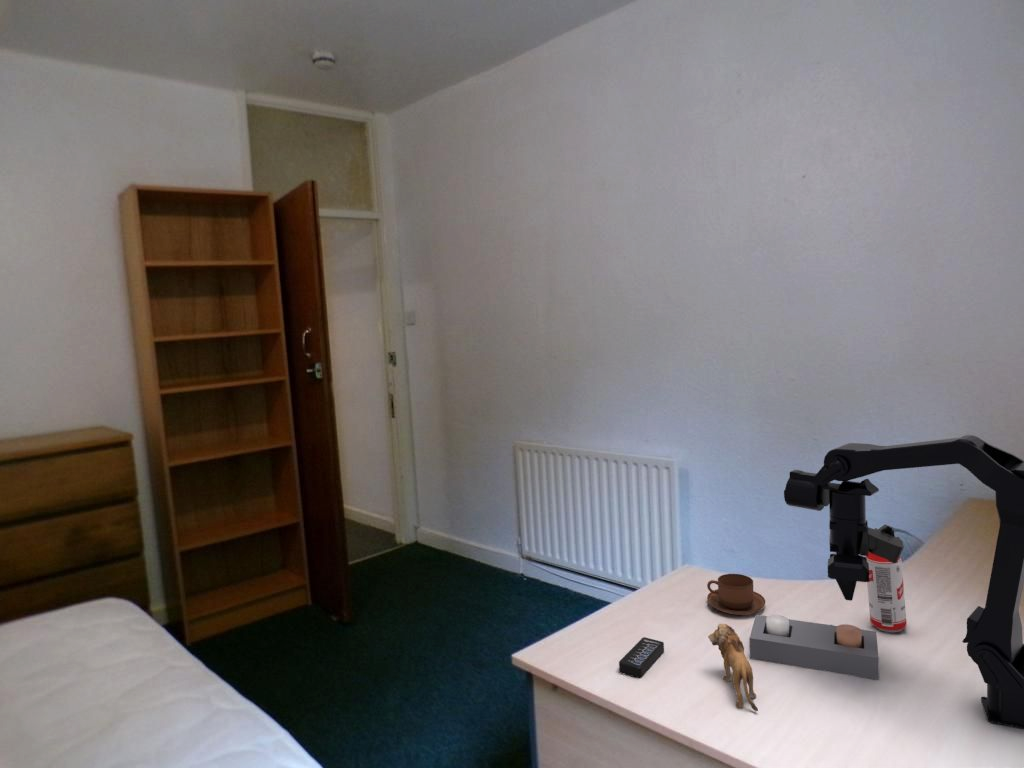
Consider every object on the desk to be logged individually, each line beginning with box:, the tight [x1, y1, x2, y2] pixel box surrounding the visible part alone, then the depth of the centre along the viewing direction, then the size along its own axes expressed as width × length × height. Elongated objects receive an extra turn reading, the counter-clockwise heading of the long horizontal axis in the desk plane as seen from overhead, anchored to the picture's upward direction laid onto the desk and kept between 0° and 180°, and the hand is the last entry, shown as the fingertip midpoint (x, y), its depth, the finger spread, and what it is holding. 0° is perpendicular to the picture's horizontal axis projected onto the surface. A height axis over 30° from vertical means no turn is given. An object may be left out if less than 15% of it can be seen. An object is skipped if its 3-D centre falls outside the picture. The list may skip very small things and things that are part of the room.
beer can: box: [864, 551, 907, 633], centre depth 129 cm, size 6×6×16 cm
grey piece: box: [766, 614, 789, 637], centre depth 124 cm, size 4×4×4 cm
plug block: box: [748, 614, 880, 681], centre depth 122 cm, size 10×21×4 cm, turn 63°
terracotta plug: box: [836, 623, 862, 648], centre depth 119 cm, size 4×4×4 cm
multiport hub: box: [618, 636, 665, 679], centre depth 124 cm, size 4×11×2 cm, turn 144°
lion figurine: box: [707, 623, 759, 712], centre depth 113 cm, size 15×5×9 cm, turn 5°
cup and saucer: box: [706, 573, 766, 616], centre depth 143 cm, size 12×12×6 cm
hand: (848, 599), depth 118 cm, fingers closed
